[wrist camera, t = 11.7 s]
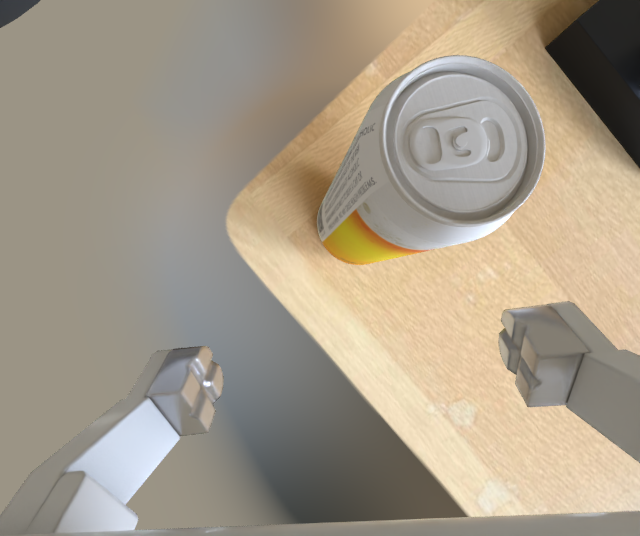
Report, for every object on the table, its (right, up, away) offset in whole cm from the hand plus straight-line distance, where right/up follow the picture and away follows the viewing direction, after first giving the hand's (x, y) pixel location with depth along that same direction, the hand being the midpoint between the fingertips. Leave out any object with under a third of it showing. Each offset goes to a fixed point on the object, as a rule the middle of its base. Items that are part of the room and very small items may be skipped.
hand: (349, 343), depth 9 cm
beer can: (+2, +5, +16) cm, 17 cm away
